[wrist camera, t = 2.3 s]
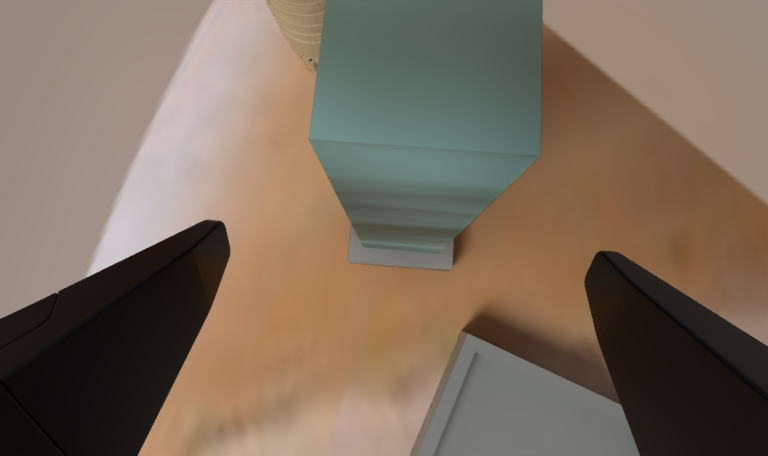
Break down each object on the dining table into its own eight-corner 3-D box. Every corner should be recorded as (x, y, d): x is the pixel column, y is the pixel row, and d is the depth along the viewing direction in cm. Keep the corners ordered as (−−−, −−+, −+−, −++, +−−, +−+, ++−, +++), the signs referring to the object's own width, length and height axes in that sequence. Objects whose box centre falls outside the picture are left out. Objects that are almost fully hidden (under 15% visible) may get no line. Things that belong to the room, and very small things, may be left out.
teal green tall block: (448, 271, 20) (587, 203, 6) (349, 263, 20) (258, 178, 6) (453, 176, 20) (584, -77, 7) (359, 169, 21) (297, -93, 7)
